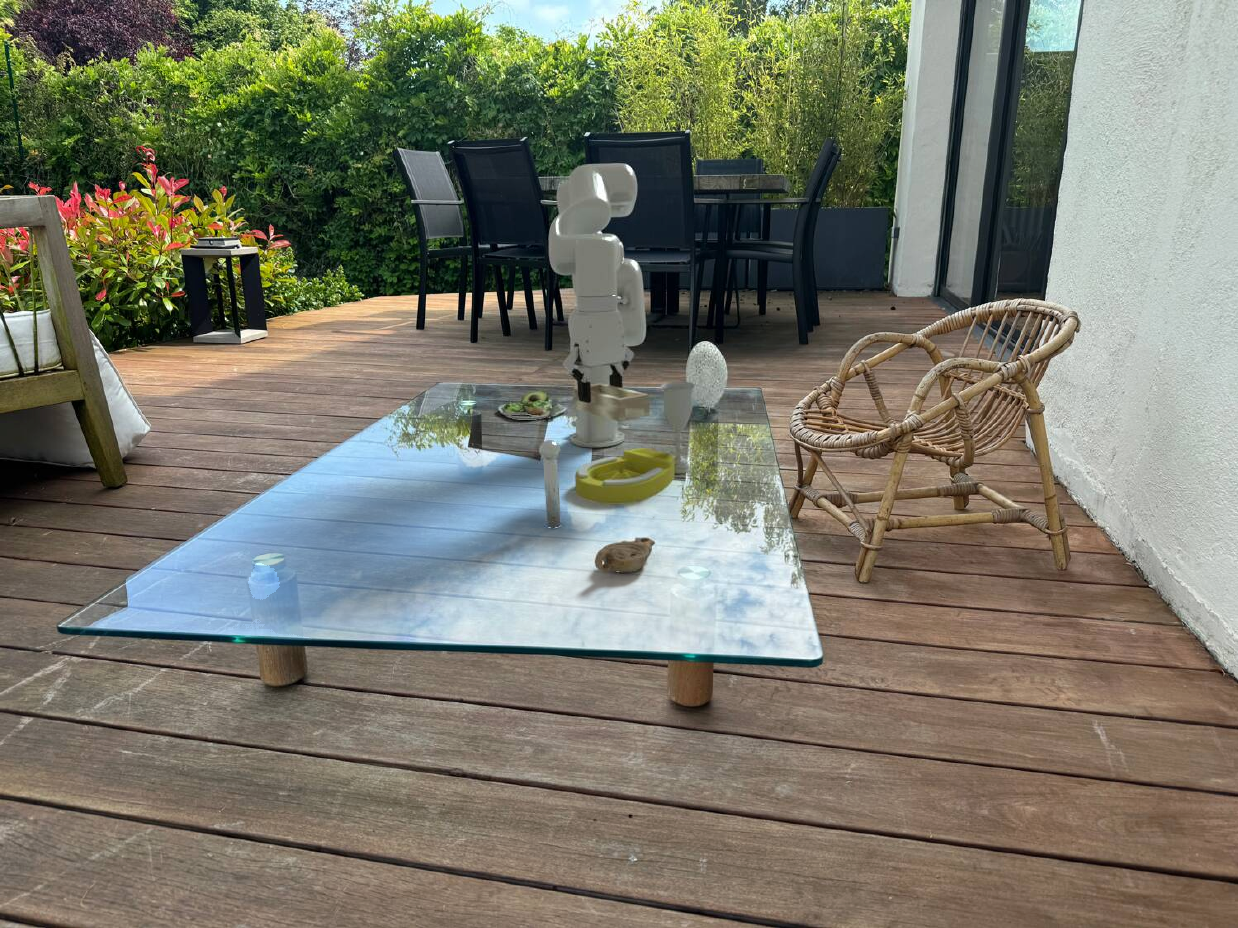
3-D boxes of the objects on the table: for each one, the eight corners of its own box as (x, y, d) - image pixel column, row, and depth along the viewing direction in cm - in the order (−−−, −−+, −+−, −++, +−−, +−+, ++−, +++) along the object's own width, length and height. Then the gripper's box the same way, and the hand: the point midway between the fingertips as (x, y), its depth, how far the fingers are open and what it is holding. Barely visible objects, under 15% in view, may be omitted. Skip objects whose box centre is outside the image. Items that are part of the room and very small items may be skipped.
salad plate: (582, 417, 222) (581, 400, 221) (518, 428, 214) (517, 410, 213) (552, 403, 238) (551, 386, 237) (492, 412, 231) (490, 395, 229)
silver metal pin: (540, 525, 150) (534, 440, 146) (557, 520, 153) (552, 436, 148) (551, 531, 148) (545, 444, 143) (568, 526, 150) (563, 440, 145)
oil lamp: (633, 548, 140) (632, 520, 139) (669, 560, 135) (669, 531, 134) (578, 576, 131) (577, 546, 129) (615, 589, 126) (614, 559, 124)
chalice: (692, 475, 174) (692, 389, 168) (660, 474, 175) (658, 389, 170) (696, 464, 181) (696, 381, 175) (665, 463, 182) (664, 381, 177)
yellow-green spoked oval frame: (689, 482, 171) (689, 458, 170) (619, 511, 157) (618, 486, 155) (629, 466, 182) (628, 444, 180) (558, 492, 168) (557, 468, 166)
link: (573, 408, 165) (572, 388, 164) (601, 402, 169) (601, 383, 168) (620, 421, 154) (619, 400, 153) (649, 415, 158) (648, 394, 157)
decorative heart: (683, 400, 235) (683, 339, 229) (722, 399, 235) (722, 338, 229) (689, 417, 218) (689, 351, 212) (730, 416, 218) (731, 350, 212)
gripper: (622, 299, 166) (624, 389, 171) (546, 307, 156) (552, 402, 161) (646, 302, 160) (648, 394, 165) (569, 310, 150) (574, 409, 155)
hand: (600, 398), depth 163 cm, fingers closed on link, 6 cm apart
